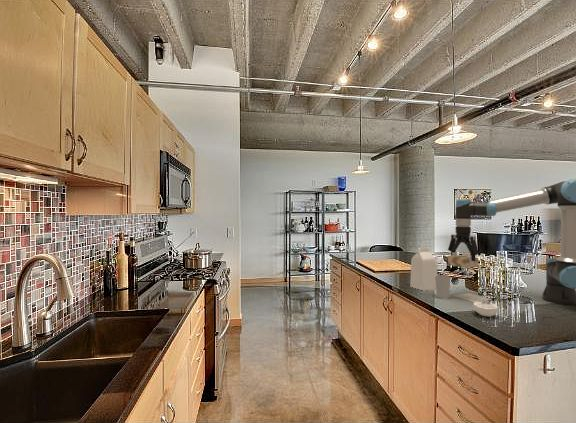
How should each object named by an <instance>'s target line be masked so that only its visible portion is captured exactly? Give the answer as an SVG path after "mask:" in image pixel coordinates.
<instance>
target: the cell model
mask: <svg viewBox="0 0 576 423" xmlns="http://www.w3.org/2000/svg"><path fill="white" fill-rule="evenodd" d="M473 309H474V312H477V313H478V314H479V315H480V316H482V317H489V318H490V317H493V316H495V315H496V314H498V312H499V309H500V308H499V306H498V305H497V304H495V303H493V302H490V300H483V301H480V302H473Z"/></svg>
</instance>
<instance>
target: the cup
mask: <svg viewBox="0 0 576 423" xmlns="http://www.w3.org/2000/svg"><path fill="white" fill-rule="evenodd" d="M435 281H436V297H437V298H438V299H444V300H445V299H450V291H451V290H450V289H451V276H450V275H444V274H443V275H441V274H437V275H436V276H435Z"/></svg>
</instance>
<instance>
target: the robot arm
mask: <svg viewBox="0 0 576 423" xmlns="http://www.w3.org/2000/svg"><path fill="white" fill-rule="evenodd" d="M543 204H544V205H553V204H554V205H555V204H557V208H558V209H560V210H561V213H560V215H561V216H560V247H559V248H560V251H559V252H560V254H559V257H557V258H547V259H546V262H545V267H546V268H545V271H546V273H545V274H546V276H545V277H546V283H545V284H546V285H545V287H544V290H543V292H542V300H544V301H547V302H550V303H553V304H554V303H555V304H559V305H568V306H569V305H570V306H575V305H576V178H573V179H568V180H565V181H560V182H557V183H555V184H552V185H549V186H545V187H544V186H543V187H541V188H540V189H539V190H535V191H534V190H533V191H530V192H526V193H525V192H524V193H520V194H516V195H511V196H506V197H501V198H497V199H492V200H488V201H483V202H473V201H472V200H471V199H470V198H458V199H456V201H455V225H456V226H455V233H456V234H451V235H450V241H449V245H448V248H447V250H448V251H449V252H451V253H450V254H451V255H450V256H455V255H458V254H457V250H458V248H459V246H460V244H461V243H462V244H464V245H465V247H466V248H467V250H468V251H469V253H470V254H469V255H468V256H469V267H468V268H475V267H474V261H475V257H476V255H479V254H480V252H479V248H478V244H477V240H476V236H471V233H472V232H471V230H472V228H471V226H472V220H471V219H472V217H495V216H496V215H497V213H500V212H501V213H502V212H508V211H511V210H516V209H523V208H528V207H532V206H538V205H543Z"/></svg>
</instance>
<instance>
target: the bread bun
mask: <svg viewBox="0 0 576 423" xmlns="http://www.w3.org/2000/svg"><path fill="white" fill-rule="evenodd" d="M447 265H449V266H454V267H459V268H463V269H464V268H465V269H466V268H470V267H469V255H464V254H459V255H458V254H457V255H455V256H451V255H448V256H447ZM476 267H477V268H478V267H479V257H476V256H475V261H474V267H473V268H476Z"/></svg>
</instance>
